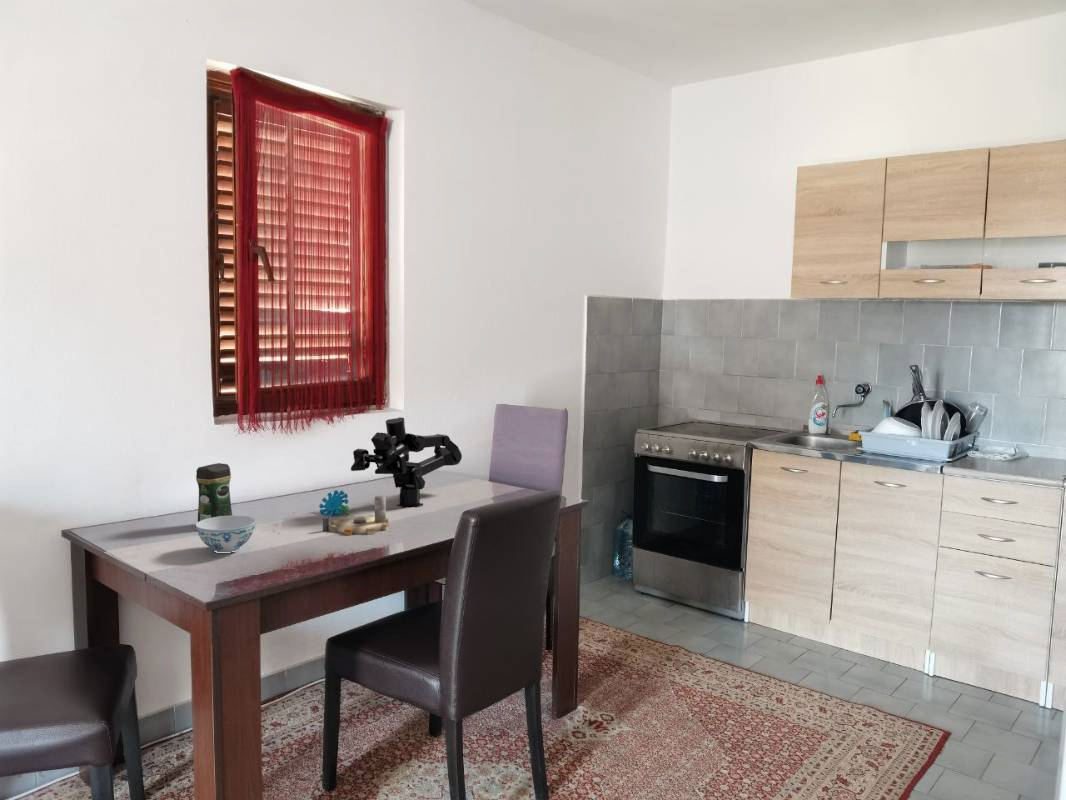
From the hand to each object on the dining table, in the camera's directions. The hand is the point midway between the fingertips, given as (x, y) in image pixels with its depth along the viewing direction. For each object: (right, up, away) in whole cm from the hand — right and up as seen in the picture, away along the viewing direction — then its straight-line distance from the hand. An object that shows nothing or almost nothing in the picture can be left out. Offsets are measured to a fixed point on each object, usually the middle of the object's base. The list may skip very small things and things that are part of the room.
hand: (363, 470), depth 249 cm
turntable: (0, -16, -8) cm, 18 cm away
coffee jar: (-43, -16, -6) cm, 46 cm away
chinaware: (-30, -19, -31) cm, 47 cm away
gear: (-11, -15, +9) cm, 21 cm away
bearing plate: (0, -17, -7) cm, 18 cm away
